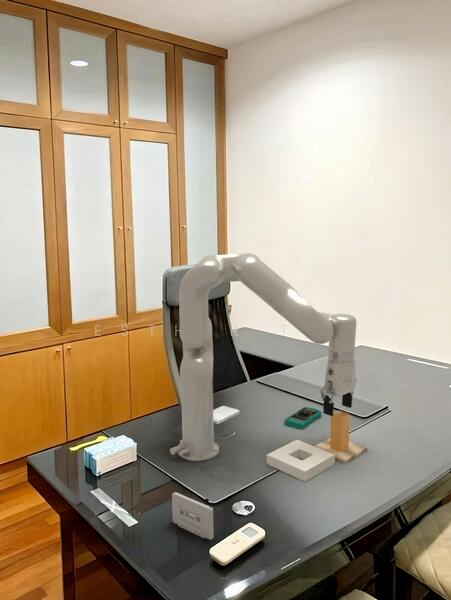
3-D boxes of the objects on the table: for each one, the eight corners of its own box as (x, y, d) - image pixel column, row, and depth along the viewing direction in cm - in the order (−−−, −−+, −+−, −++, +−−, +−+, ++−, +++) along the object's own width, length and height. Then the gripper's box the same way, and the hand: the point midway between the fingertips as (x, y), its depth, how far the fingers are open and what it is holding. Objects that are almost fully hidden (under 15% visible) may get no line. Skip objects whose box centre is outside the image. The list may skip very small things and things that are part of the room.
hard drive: (222, 405, 198) (200, 415, 188) (239, 410, 193) (217, 420, 183) (222, 409, 198) (200, 419, 189) (239, 414, 193) (217, 425, 184)
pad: (344, 464, 154) (344, 460, 154) (311, 450, 163) (311, 447, 163) (366, 450, 162) (366, 447, 162) (333, 438, 171) (333, 435, 171)
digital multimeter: (322, 417, 189) (322, 409, 189) (302, 431, 178) (302, 423, 177) (304, 412, 194) (304, 405, 193) (283, 426, 182) (283, 418, 182)
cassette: (171, 523, 127) (170, 493, 125) (176, 519, 128) (175, 490, 127) (210, 541, 119) (209, 510, 118) (215, 537, 121) (214, 507, 120)
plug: (341, 452, 159) (342, 417, 157) (330, 448, 162) (330, 414, 160) (348, 448, 162) (349, 414, 160) (337, 443, 165) (338, 410, 163)
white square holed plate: (305, 481, 145) (305, 471, 144) (266, 464, 155) (266, 454, 154) (334, 464, 154) (335, 454, 154) (296, 448, 164) (296, 439, 164)
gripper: (334, 364, 149) (331, 421, 152) (367, 353, 160) (363, 407, 163) (313, 358, 154) (310, 414, 157) (346, 348, 166) (343, 400, 169)
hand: (337, 410), depth 160 cm, fingers open, 9 cm apart
